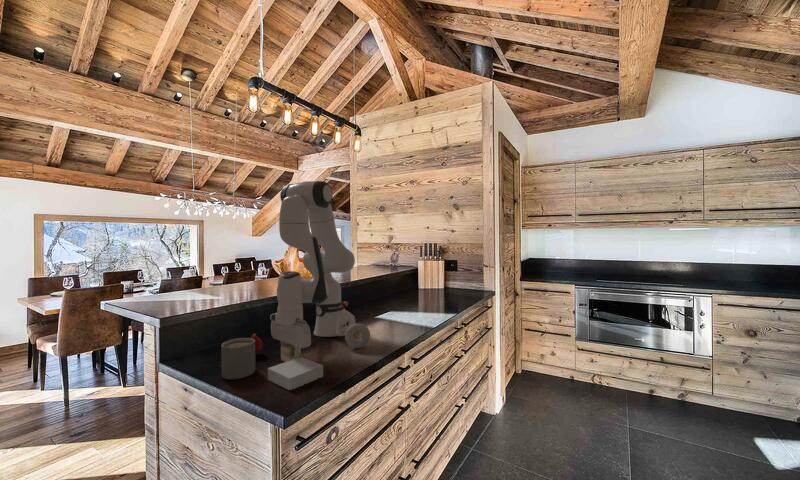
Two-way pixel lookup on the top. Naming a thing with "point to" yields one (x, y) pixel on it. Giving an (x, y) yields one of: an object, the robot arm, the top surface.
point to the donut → (352, 330)
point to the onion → (257, 343)
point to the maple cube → (288, 352)
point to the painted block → (295, 373)
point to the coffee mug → (238, 358)
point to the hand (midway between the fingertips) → (290, 354)
